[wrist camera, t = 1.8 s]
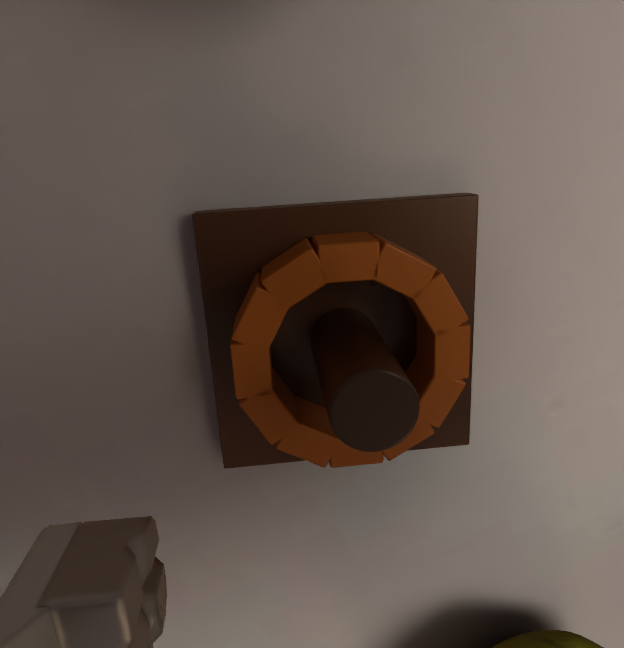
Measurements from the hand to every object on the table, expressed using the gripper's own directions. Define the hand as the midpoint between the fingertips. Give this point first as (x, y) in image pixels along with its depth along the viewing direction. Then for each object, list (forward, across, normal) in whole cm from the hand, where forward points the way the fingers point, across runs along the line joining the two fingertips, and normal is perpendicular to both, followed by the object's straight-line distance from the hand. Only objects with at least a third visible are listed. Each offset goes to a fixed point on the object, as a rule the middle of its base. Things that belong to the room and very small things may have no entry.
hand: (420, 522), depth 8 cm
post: (+9, 0, 0) cm, 9 cm away
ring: (+8, 0, 0) cm, 8 cm away
